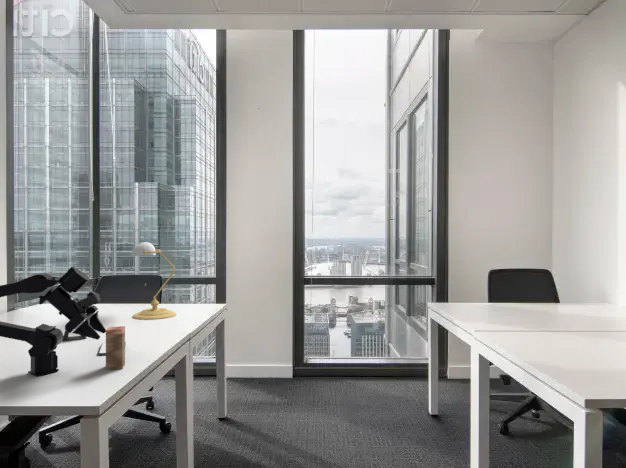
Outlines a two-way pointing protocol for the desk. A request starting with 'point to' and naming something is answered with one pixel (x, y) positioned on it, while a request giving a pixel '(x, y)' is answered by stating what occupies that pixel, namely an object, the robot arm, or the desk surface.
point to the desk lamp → (153, 312)
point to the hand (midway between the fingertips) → (102, 335)
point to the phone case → (102, 350)
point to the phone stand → (66, 338)
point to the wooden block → (115, 348)
